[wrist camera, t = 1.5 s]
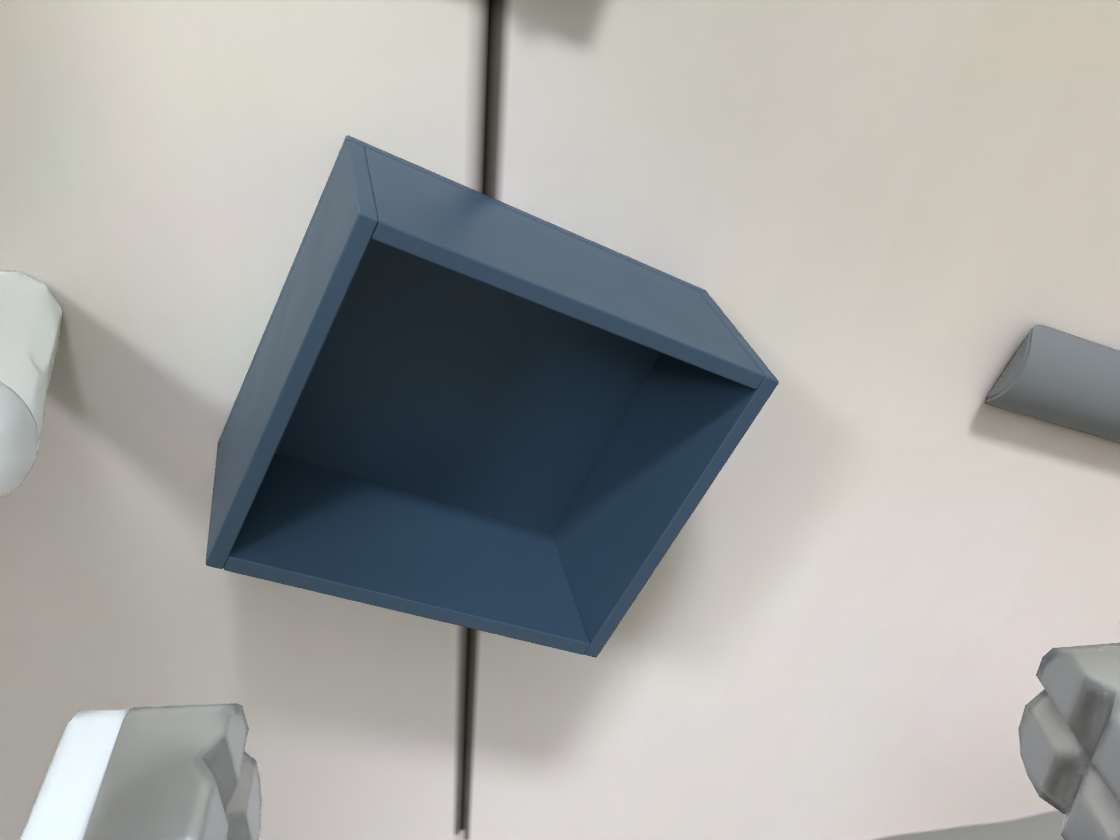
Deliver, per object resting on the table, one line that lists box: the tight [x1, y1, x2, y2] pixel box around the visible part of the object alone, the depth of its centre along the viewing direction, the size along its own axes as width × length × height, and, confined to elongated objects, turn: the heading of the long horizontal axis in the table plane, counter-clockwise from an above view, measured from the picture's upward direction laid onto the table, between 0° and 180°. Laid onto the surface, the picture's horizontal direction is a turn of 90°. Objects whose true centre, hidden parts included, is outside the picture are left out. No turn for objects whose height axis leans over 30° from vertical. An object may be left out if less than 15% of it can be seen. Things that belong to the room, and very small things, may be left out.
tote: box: [206, 136, 779, 657], centre depth 37 cm, size 15×13×8 cm
